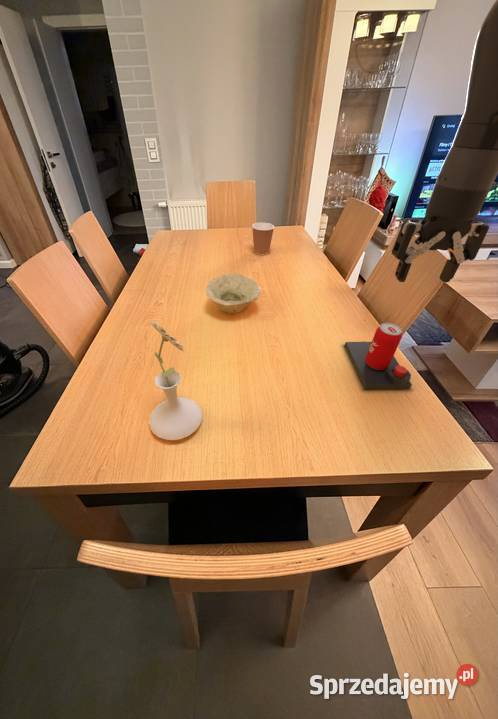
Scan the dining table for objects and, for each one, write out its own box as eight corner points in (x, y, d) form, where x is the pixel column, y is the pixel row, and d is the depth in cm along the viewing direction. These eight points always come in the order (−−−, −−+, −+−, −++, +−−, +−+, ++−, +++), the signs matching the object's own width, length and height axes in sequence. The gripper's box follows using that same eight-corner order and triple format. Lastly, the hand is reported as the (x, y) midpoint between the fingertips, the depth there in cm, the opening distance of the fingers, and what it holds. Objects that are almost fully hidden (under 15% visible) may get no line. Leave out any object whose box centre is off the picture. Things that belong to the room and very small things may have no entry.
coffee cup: (264, 246, 149) (265, 221, 141) (276, 253, 143) (279, 227, 135) (246, 250, 145) (247, 224, 137) (258, 257, 138) (260, 231, 130)
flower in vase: (208, 435, 65) (199, 345, 49) (154, 451, 62) (125, 360, 45) (194, 393, 74) (183, 305, 58) (147, 405, 71) (120, 315, 54)
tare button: (406, 377, 76) (408, 372, 75) (395, 378, 76) (398, 373, 75) (401, 370, 78) (403, 365, 77) (391, 370, 78) (393, 365, 77)
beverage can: (378, 355, 85) (393, 319, 77) (392, 369, 81) (410, 333, 73) (359, 359, 83) (372, 323, 75) (373, 374, 79) (388, 337, 71)
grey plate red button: (410, 390, 77) (415, 380, 75) (365, 391, 77) (369, 381, 74) (382, 345, 91) (386, 336, 89) (344, 346, 90) (347, 336, 88)
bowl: (243, 308, 113) (272, 295, 103) (212, 326, 101) (240, 313, 90) (226, 274, 110) (253, 257, 100) (192, 288, 98) (218, 270, 88)
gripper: (430, 187, 43) (393, 289, 54) (525, 188, 44) (470, 290, 54) (407, 177, 49) (378, 272, 59) (491, 179, 49) (447, 272, 60)
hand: (422, 280), depth 57 cm, fingers open, 8 cm apart
